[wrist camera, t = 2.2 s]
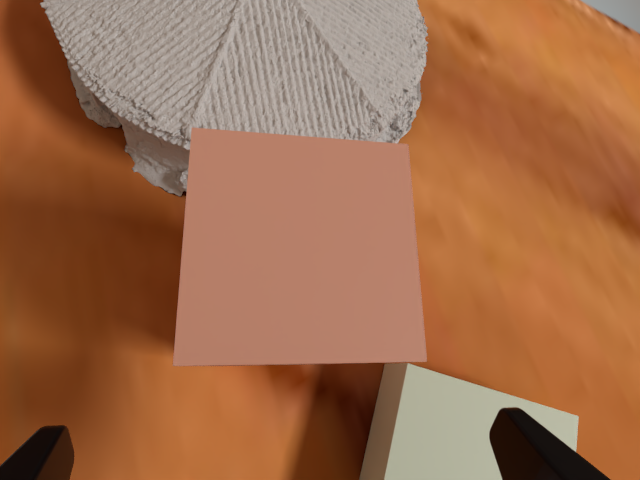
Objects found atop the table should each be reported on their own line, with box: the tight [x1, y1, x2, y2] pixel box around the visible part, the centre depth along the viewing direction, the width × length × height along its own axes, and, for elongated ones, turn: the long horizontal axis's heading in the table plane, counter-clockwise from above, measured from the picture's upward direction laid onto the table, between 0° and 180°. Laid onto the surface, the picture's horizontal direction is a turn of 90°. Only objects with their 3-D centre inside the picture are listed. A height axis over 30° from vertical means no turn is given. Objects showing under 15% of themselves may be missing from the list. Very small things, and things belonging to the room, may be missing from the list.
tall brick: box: [173, 127, 427, 366], centre depth 15 cm, size 5×5×12 cm
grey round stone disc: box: [40, 0, 428, 196], centre depth 21 cm, size 20×20×7 cm
